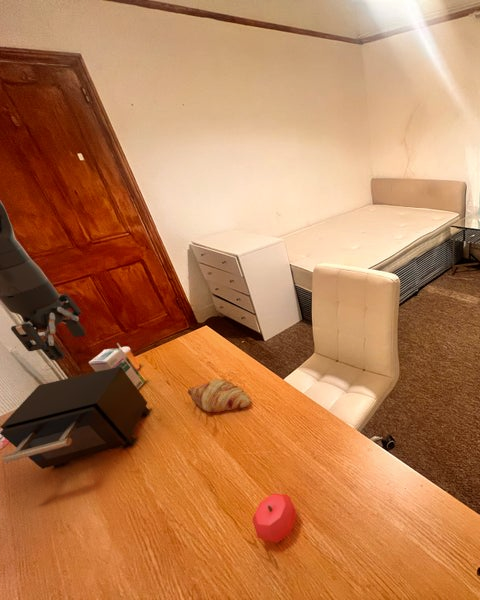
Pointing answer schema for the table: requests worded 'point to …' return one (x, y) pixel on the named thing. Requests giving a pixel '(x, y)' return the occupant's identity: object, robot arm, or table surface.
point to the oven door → (62, 438)
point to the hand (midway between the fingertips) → (70, 346)
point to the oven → (87, 401)
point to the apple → (274, 518)
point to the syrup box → (117, 364)
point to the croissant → (219, 396)
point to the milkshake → (129, 355)
